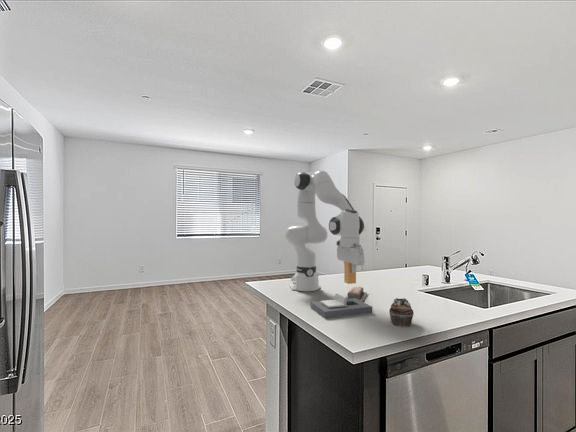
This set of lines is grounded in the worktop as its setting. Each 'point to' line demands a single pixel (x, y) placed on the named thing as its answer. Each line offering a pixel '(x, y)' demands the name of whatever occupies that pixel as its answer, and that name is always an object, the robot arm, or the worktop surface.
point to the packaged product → (357, 293)
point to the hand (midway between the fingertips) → (350, 272)
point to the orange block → (349, 273)
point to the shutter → (335, 302)
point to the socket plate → (342, 309)
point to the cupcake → (401, 313)
